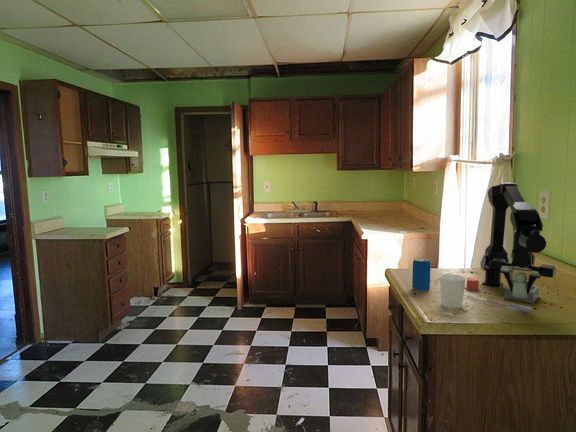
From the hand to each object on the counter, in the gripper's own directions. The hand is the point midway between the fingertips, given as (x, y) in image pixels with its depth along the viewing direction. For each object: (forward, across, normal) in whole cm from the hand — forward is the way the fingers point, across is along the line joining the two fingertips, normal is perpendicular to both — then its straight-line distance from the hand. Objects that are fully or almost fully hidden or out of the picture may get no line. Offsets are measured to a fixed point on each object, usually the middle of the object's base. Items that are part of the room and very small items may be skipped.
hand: (519, 292), depth 138 cm
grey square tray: (+6, +2, -12) cm, 14 cm away
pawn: (+1, 0, 0) cm, 1 cm away
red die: (+6, +19, -12) cm, 23 cm away
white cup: (+6, +18, +11) cm, 22 cm away
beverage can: (+6, +34, +1) cm, 34 cm away
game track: (+6, +7, 0) cm, 9 cm away
